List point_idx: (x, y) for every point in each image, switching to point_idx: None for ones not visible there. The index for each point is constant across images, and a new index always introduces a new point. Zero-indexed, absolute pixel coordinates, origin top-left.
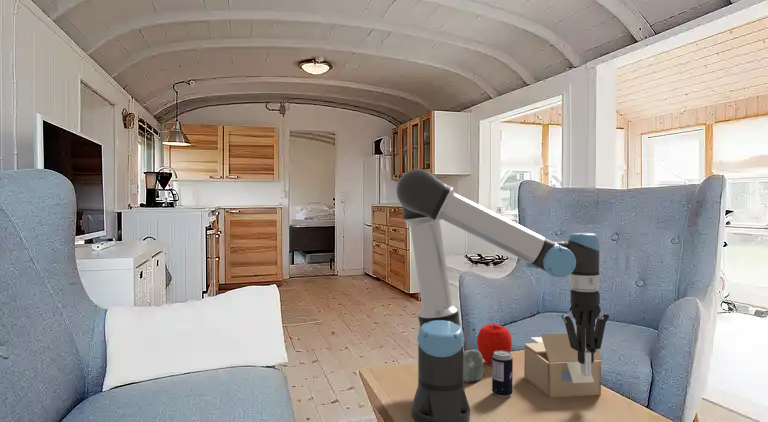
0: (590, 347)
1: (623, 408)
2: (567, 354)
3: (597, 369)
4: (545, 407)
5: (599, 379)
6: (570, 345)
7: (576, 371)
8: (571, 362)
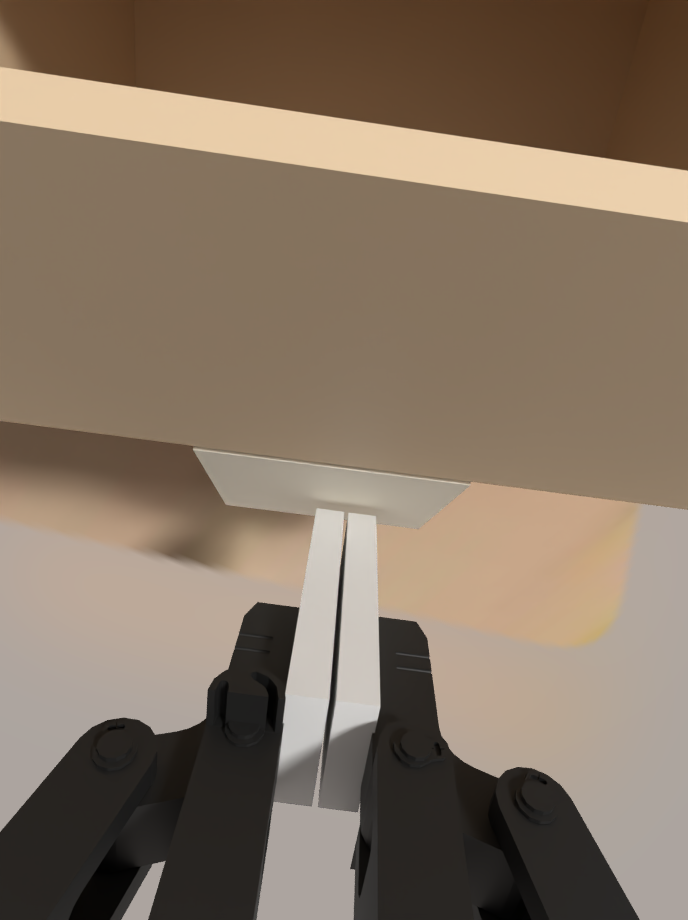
0: (356, 880)
1: (521, 558)
2: (225, 419)
3: None
4: (39, 427)
5: None
6: (65, 760)
7: (285, 489)
8: (254, 461)
